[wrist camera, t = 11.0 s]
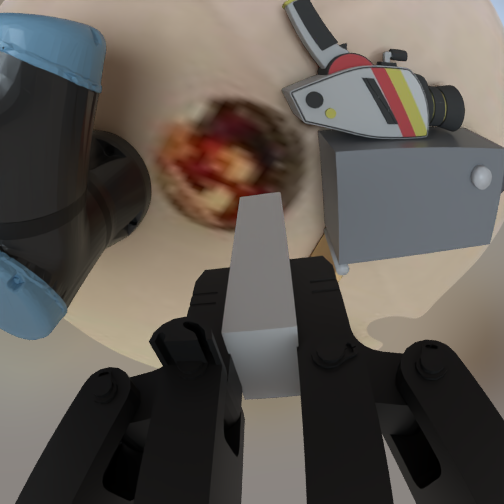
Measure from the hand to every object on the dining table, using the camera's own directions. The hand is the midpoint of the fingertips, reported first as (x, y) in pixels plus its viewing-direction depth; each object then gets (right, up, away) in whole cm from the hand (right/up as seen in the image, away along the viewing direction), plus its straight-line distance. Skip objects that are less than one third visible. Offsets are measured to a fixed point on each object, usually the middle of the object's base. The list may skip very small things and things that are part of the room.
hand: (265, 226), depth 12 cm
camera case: (+19, +9, +23) cm, 31 cm away
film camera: (+12, +20, +16) cm, 28 cm away
